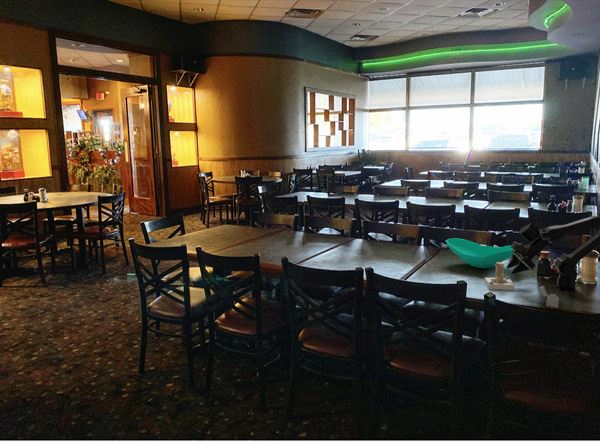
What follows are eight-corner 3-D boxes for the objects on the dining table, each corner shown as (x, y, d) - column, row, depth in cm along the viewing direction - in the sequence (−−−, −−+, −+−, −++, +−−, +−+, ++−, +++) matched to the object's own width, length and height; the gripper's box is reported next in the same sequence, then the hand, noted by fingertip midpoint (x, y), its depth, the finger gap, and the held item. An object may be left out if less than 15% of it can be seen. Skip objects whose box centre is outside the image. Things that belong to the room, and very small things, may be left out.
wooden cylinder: (501, 285, 224) (502, 262, 222) (503, 287, 221) (504, 263, 219) (495, 285, 225) (496, 262, 223) (496, 287, 222) (497, 263, 220)
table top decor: (436, 266, 260) (436, 243, 258) (456, 256, 281) (457, 235, 278) (511, 278, 234) (512, 253, 232) (526, 266, 255) (528, 242, 253)
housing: (508, 283, 227) (508, 276, 227) (514, 290, 217) (514, 283, 216) (484, 282, 229) (485, 275, 229) (489, 289, 219) (489, 282, 218)
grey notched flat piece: (558, 306, 194) (559, 288, 193) (557, 308, 193) (558, 289, 191) (539, 303, 199) (540, 285, 198) (538, 304, 198) (539, 286, 196)
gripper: (517, 232, 226) (492, 254, 230) (528, 240, 208) (501, 264, 212) (534, 248, 226) (509, 269, 230) (546, 257, 208) (519, 281, 212)
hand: (509, 270), depth 221 cm, fingers open, 9 cm apart
